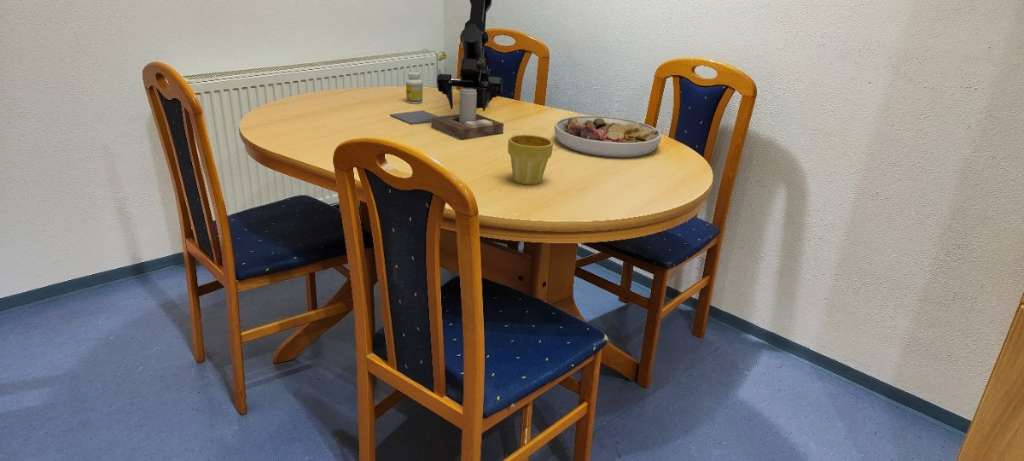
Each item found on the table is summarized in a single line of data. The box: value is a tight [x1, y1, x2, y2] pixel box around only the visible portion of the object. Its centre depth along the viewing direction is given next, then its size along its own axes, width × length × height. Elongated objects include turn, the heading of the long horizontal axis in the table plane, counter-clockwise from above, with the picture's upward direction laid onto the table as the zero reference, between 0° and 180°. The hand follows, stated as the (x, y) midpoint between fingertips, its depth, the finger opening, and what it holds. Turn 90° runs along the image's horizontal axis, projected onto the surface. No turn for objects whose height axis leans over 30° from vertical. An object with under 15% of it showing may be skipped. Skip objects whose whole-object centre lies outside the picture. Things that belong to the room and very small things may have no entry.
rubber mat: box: [389, 109, 440, 126], centre depth 206 cm, size 12×12×1 cm
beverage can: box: [458, 87, 477, 124], centre depth 194 cm, size 5×5×12 cm
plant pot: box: [507, 133, 554, 186], centre depth 156 cm, size 10×10×10 cm
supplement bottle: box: [405, 71, 424, 105], centre depth 224 cm, size 5×5×10 cm
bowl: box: [554, 115, 662, 159], centre depth 190 cm, size 30×30×8 cm
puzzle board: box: [430, 113, 505, 141], centre depth 196 cm, size 15×15×4 cm
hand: (467, 109), depth 193 cm, fingers open, 9 cm apart
